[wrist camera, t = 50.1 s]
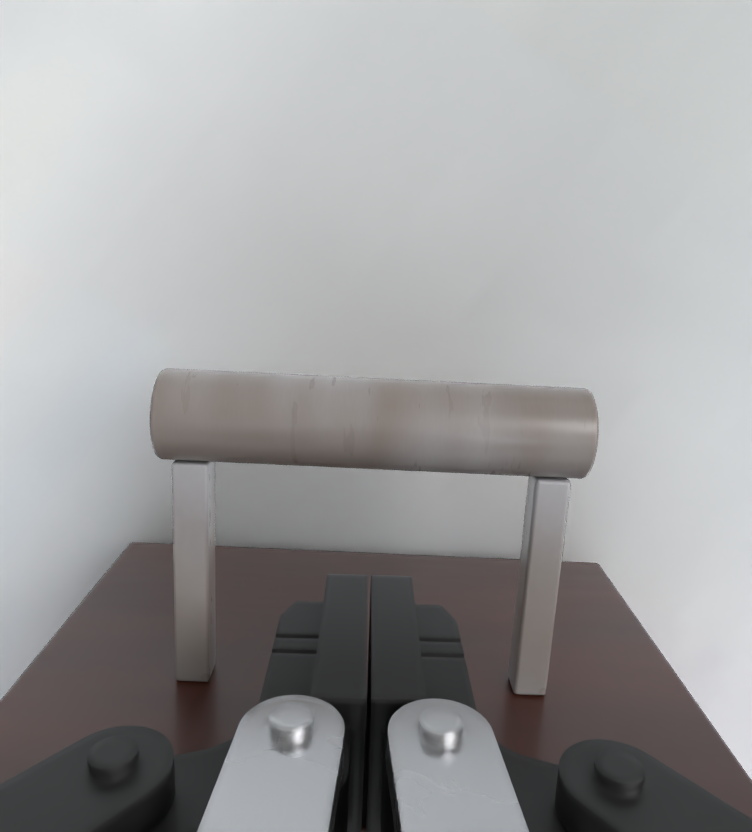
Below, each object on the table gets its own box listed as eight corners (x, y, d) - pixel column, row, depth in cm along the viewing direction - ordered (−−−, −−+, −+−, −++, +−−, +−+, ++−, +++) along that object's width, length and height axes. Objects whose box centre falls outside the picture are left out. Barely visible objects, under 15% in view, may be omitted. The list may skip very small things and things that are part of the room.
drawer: (122, 324, 17) (-146, 407, 8) (626, 349, 17) (889, 455, 8) (144, 959, 21) (-13, 1449, 13) (543, 974, 21) (658, 1466, 13)
